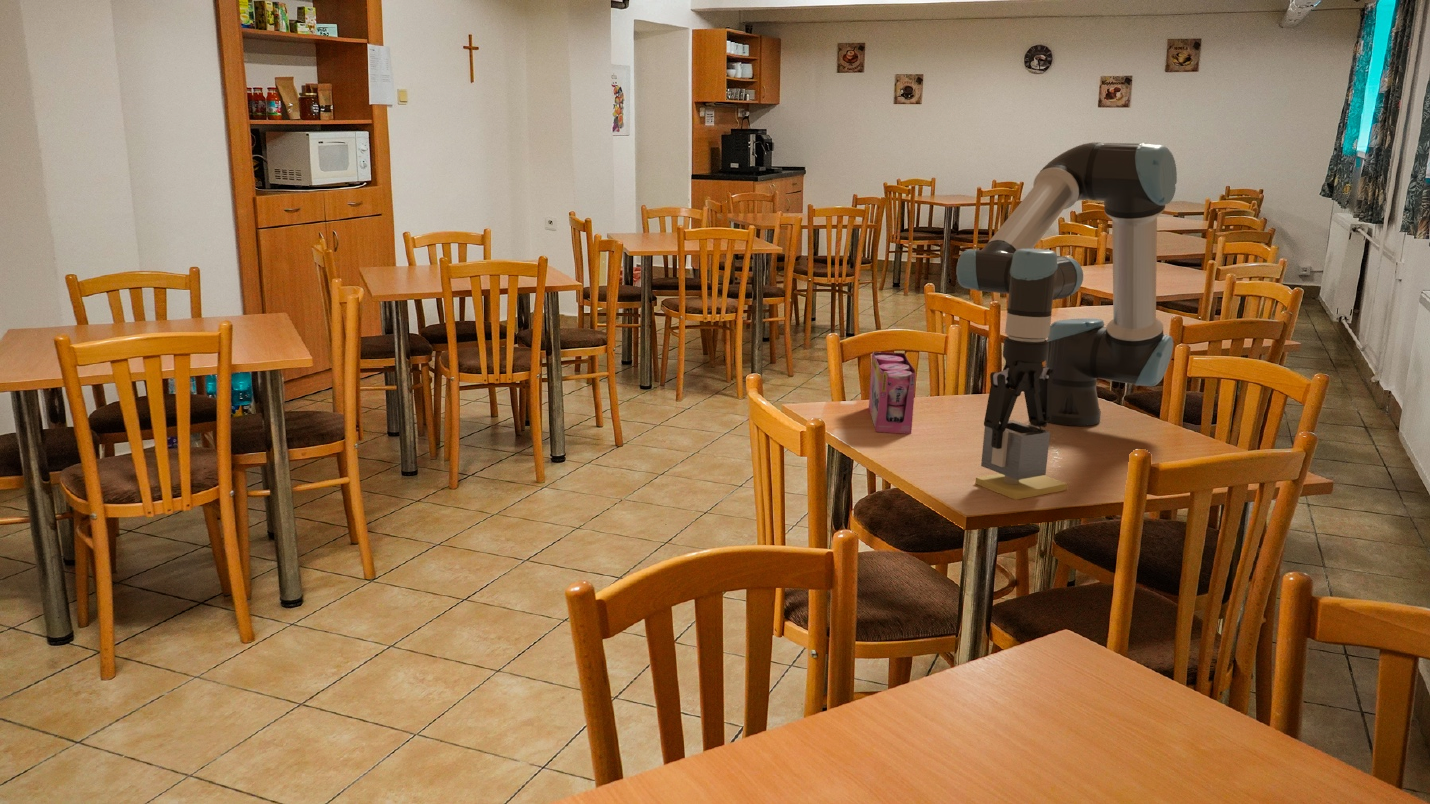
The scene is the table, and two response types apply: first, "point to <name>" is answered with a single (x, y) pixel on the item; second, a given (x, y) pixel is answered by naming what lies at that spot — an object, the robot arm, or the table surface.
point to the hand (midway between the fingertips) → (1013, 462)
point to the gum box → (891, 392)
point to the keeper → (1021, 485)
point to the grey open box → (1019, 451)
